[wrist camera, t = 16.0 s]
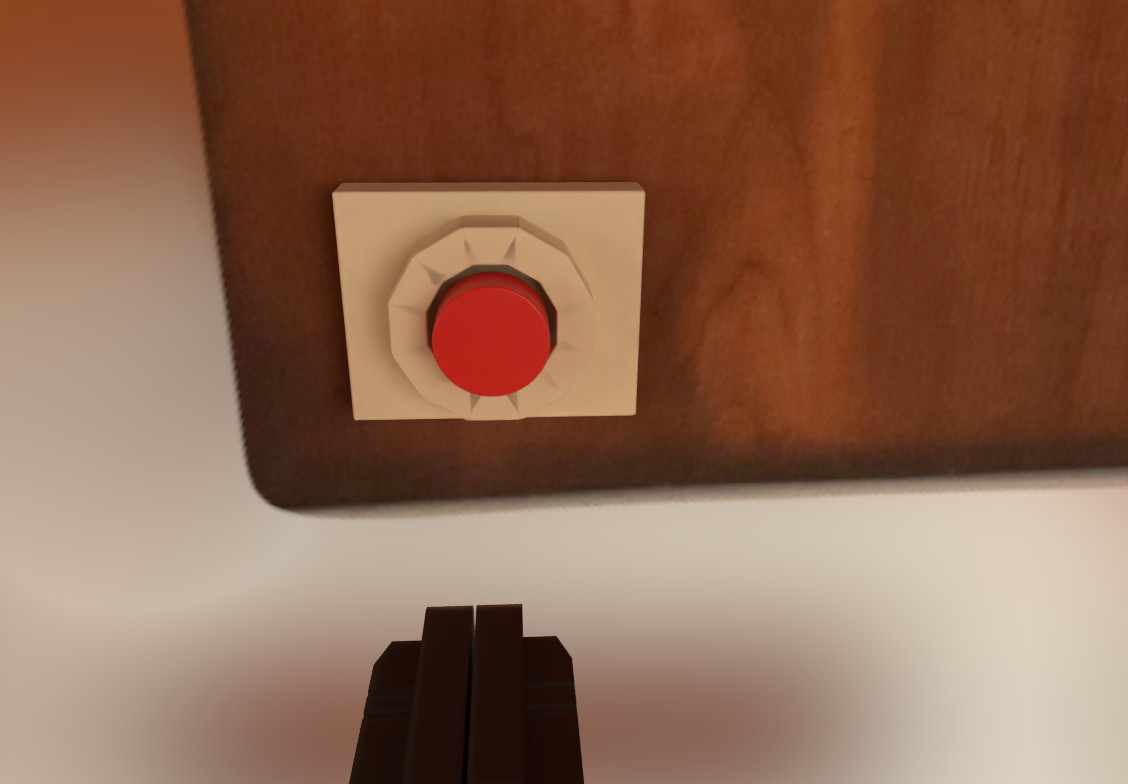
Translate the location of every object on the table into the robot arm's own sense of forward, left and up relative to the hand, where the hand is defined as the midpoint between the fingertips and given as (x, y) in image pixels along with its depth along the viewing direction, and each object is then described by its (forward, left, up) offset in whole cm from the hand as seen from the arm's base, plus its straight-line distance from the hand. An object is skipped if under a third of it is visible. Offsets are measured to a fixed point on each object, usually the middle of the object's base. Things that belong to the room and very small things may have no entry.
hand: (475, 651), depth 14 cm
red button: (0, 0, -16) cm, 16 cm away
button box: (0, 0, -19) cm, 19 cm away
